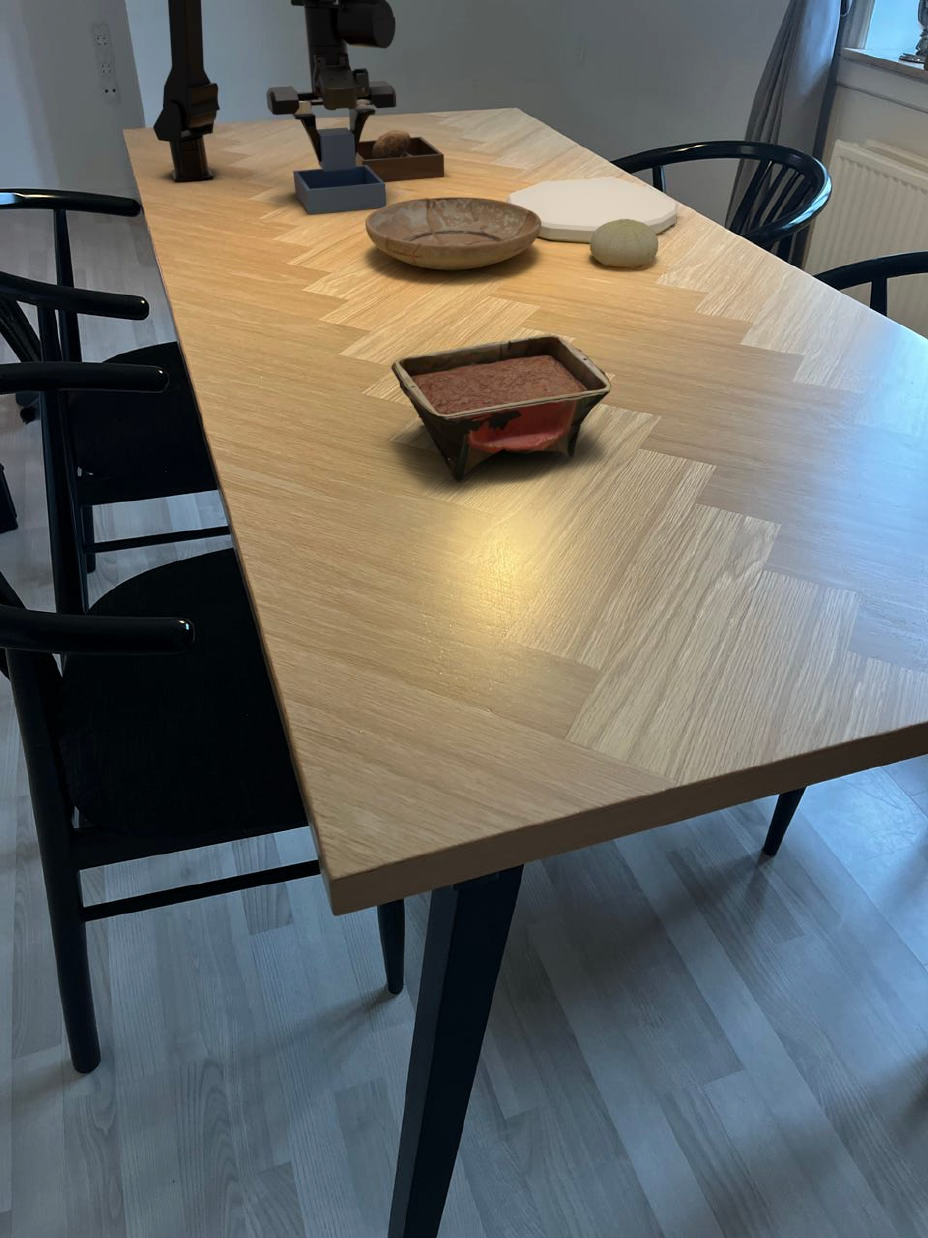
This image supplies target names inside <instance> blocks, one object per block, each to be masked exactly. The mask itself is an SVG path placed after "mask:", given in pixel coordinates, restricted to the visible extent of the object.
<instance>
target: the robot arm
mask: <svg viewBox="0 0 928 1238" xmlns="http://www.w3.org/2000/svg"><path fill="white" fill-rule="evenodd" d="M290 4H291V6H293V7H295V6H296V7H303V11H304V21H305V33H306V42H307V43H306V44H307V53H308V64H309V65H308V66H309V77H310V87H311V91H300V92H299V91H297V90H296V89H295V88H294V87H293V86H276V87H275V86H274V87H269V88H268V89H267V91H266V104H267V109H268V110H269V112H270V113H271V114H272V115H274V116H275V115H276V116H285V115H291V116H292V117H293V118H294V119H295V120H297V121H300V123H301V125H302V127H303V128H304V130H305V132H306V134H307V136H308V139H309V141H310V145H311V147H312V149H313V151H314V155H315V157H316V159H317V162H318V161H319V162H321V149H320V144H319V138H318V133H317V129H318V128H317V117H316V114H315V113H314V112H313V111H312V108H313V107H315V106H323V107H324V109H325V110H327V111H336V110H339V109H348V113H349V114H348V115H349V116H348V117H349V120H348V121H349V130H350V131H351V132H352V133H353V134H354V143H355V158H356V154H357V149H358V145H359V141H361V136H362V133H363V130H364V127H365V124H366V122H367V120H368V118H369V117H370V116H374V115H376V109H390V108H395V107H397V93H396V89H395V87H393V86H392V85H391V84H390V83H388V82H387V81H385V80H376V81H374V80H373V81H370V77H369V71H368V69H367V68H366V67H365V68H364V67H363V68H354V69H353V70H352V69H351V66H350V59H349V53H348V46H351V47H361V48H372V49H373V48H374V49H383V50H385V49H387V48H389V47H390V46H391V44H392V43H393V41H394V38H395V35H396V25H397V23H396V17H395V16H394V12H393V9H392V7H391V5H390V3H389V2H388V1H387V0H290ZM167 6H168V7H167V8H168V9H167V10H168V23H169V26H168V27H169V39H170V56H171V58H170V59H171V67H170V70H169V73H168V76H167V78H166V80H165V83H164V85H163V93H162V94H163V95H162V110H161V111H160V113H159V115H158V117H157V119H156V120H155V122H154V124H153V126H152V128H153V131H154V134H155V136H156V138H157V140H158V141H161V142H167V143H169V149H170V154H171V160H172V164H173V165H172V166H173V169H171V175H172V177H173V181H174V182H185V181H197V180H199V181H200V180H211V179H214V174H213V172H212V170H211V168H210V167H209V164H208V157H207V151H206V145H205V138H204V136H206V135H212V134H213V133H214V126H215V120H216V119H217V113H218V111H220V110H221V108H220V105H219V86H218V83H216V82H211V80H210V78H209V76H208V74H207V72H206V71H205V63H204V62H205V61H204V41H203V40H204V39H203V37H204V36H203V13H202V12H203V11H202V0H167ZM374 107H375V108H376V109H374Z"/></svg>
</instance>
